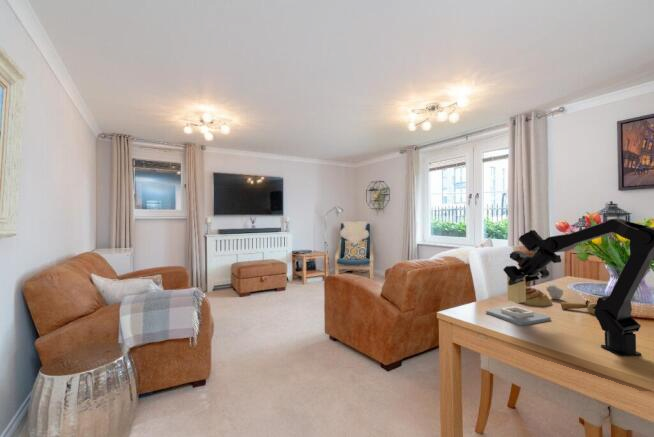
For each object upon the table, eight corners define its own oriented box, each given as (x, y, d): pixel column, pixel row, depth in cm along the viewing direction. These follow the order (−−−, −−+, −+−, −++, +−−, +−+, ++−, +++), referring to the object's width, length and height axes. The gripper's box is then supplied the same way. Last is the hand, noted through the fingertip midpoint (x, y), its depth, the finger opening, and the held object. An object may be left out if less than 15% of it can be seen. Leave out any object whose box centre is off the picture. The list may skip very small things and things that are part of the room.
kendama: (564, 315, 127) (621, 315, 118) (561, 299, 129) (616, 299, 120) (562, 313, 134) (615, 313, 125) (559, 298, 135) (611, 298, 126)
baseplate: (550, 320, 117) (550, 313, 117) (521, 325, 112) (520, 318, 112) (513, 308, 132) (513, 302, 132) (486, 313, 127) (486, 307, 127)
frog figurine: (544, 297, 150) (543, 283, 150) (560, 297, 148) (559, 283, 148) (549, 300, 144) (549, 286, 144) (566, 301, 142) (566, 286, 142)
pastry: (507, 299, 149) (507, 283, 149) (538, 298, 149) (537, 282, 149) (524, 306, 136) (524, 289, 136) (558, 306, 135) (557, 289, 135)
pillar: (525, 301, 121) (525, 269, 121) (517, 302, 119) (517, 270, 119) (515, 298, 125) (514, 268, 125) (507, 300, 124) (507, 269, 124)
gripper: (541, 243, 121) (516, 266, 132) (507, 246, 115) (484, 269, 126) (562, 265, 114) (534, 288, 124) (526, 269, 108) (501, 292, 118)
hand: (513, 283), depth 123 cm, fingers closed on pillar, 4 cm apart
